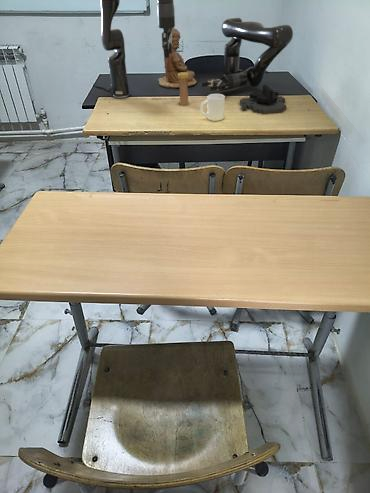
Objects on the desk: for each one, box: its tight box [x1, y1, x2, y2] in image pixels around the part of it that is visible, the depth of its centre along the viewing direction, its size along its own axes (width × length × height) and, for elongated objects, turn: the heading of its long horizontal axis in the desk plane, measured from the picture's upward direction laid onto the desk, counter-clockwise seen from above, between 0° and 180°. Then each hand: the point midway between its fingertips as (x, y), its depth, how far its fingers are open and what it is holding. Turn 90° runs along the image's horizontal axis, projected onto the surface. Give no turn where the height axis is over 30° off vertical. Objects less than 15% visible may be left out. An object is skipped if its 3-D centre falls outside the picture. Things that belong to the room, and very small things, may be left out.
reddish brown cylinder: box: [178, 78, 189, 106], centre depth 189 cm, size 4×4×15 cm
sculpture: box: [157, 27, 198, 89], centre depth 214 cm, size 27×24×30 cm
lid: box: [178, 72, 189, 79], centre depth 184 cm, size 6×6×2 cm
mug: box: [199, 93, 226, 122], centre depth 172 cm, size 12×8×10 cm
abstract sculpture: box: [239, 84, 287, 115], centre depth 184 cm, size 25×9×20 cm
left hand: (168, 55), depth 169 cm, fingers open, 8 cm apart
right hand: (206, 86), depth 194 cm, fingers open, 8 cm apart
